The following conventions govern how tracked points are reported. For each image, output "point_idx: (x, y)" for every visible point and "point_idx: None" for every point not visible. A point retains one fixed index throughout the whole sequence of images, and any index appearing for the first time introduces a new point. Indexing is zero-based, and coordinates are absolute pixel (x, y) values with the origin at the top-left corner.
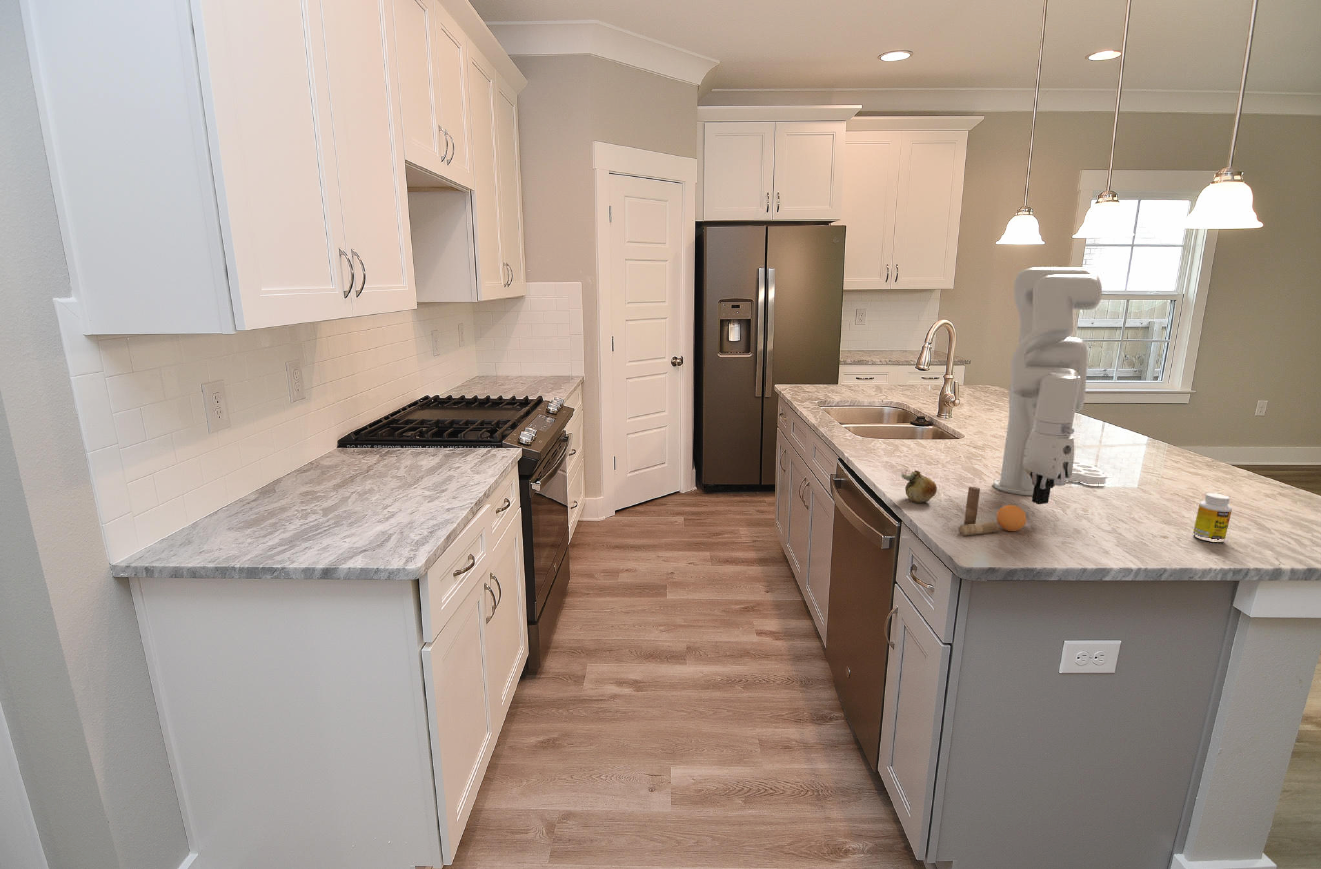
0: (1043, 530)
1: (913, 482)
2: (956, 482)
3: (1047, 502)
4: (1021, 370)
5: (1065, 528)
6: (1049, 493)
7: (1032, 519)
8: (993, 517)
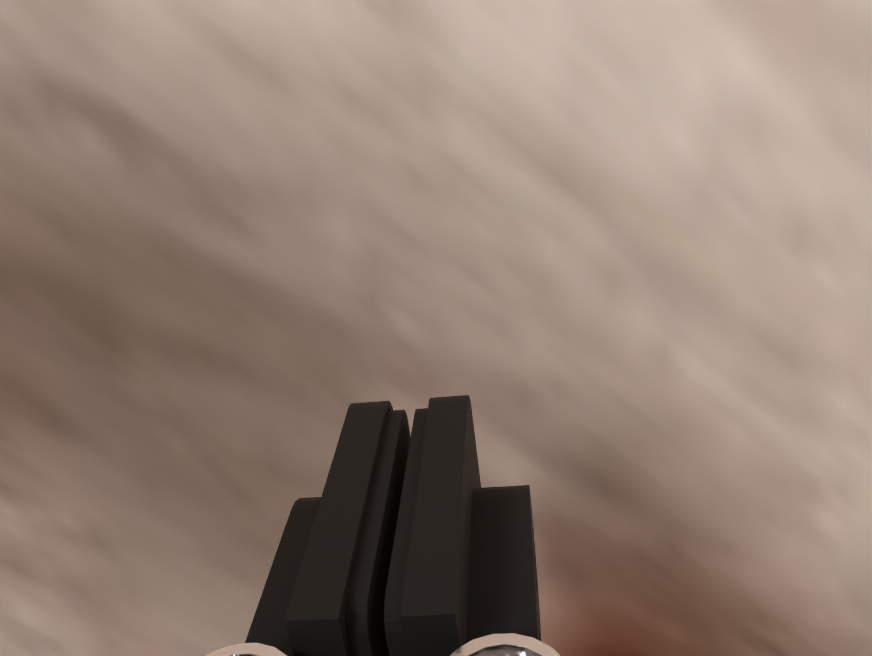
0: (681, 421)
1: None
2: None
3: (467, 403)
4: None
5: (690, 115)
6: (531, 578)
7: (341, 295)
8: None
